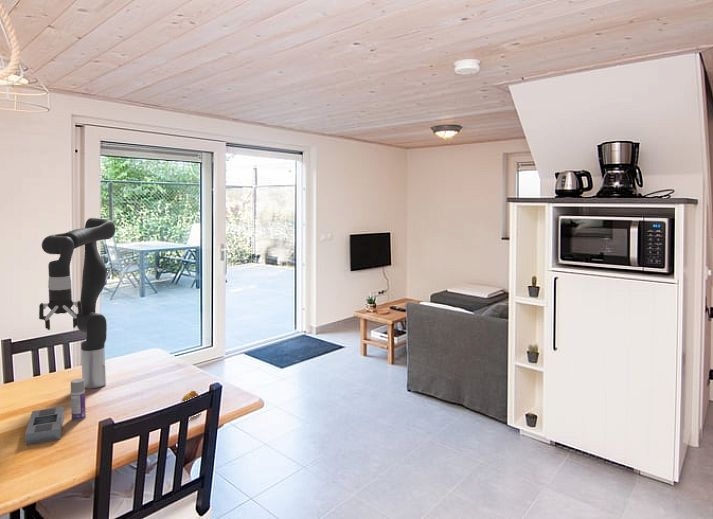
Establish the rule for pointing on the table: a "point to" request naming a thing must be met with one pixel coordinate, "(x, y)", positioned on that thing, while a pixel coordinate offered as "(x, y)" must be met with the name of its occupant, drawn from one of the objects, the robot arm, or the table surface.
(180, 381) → the table surface
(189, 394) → the fruit
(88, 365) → the robot arm
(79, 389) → the container
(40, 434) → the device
